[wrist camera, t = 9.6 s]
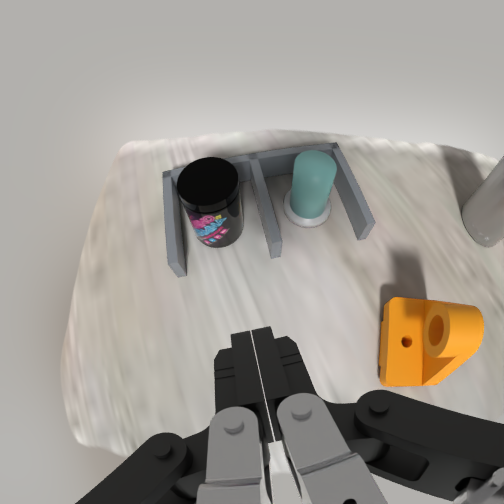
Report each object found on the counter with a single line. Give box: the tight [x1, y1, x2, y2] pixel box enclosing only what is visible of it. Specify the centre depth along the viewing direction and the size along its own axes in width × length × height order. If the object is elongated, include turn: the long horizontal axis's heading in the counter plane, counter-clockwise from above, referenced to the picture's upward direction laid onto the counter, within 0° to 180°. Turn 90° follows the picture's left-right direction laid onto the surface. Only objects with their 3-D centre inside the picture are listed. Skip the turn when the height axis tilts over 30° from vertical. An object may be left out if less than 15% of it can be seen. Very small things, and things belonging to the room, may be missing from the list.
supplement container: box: [177, 157, 243, 248], centre depth 35 cm, size 7×7×10 cm
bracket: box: [379, 297, 484, 387], centre depth 27 cm, size 11×7×12 cm, turn 172°
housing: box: [163, 142, 375, 277], centre depth 37 cm, size 14×26×9 cm, turn 102°
